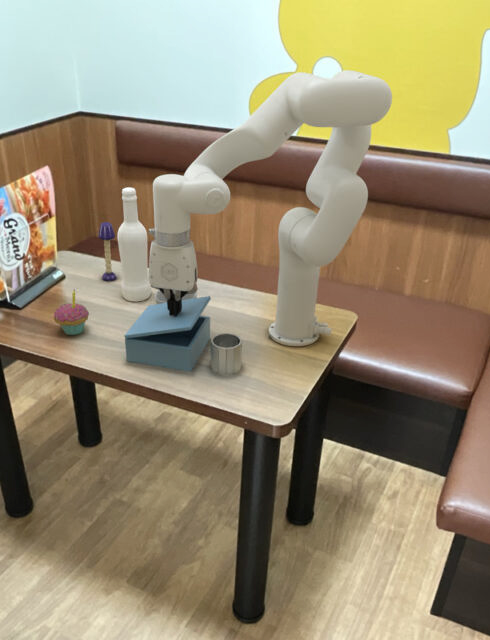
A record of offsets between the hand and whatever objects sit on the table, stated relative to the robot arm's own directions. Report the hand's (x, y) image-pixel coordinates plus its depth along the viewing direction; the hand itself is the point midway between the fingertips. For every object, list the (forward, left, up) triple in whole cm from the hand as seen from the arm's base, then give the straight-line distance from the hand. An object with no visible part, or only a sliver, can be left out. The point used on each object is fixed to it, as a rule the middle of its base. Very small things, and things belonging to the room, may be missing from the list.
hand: (174, 313), depth 139 cm
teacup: (+5, -17, -11) cm, 21 cm away
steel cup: (-13, +3, -11) cm, 17 cm away
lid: (+1, 0, -2) cm, 2 cm away
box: (+2, 0, -11) cm, 11 cm away
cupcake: (+29, -3, -11) cm, 31 cm away
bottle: (+21, -26, -11) cm, 35 cm away
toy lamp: (+33, -35, -11) cm, 49 cm away
